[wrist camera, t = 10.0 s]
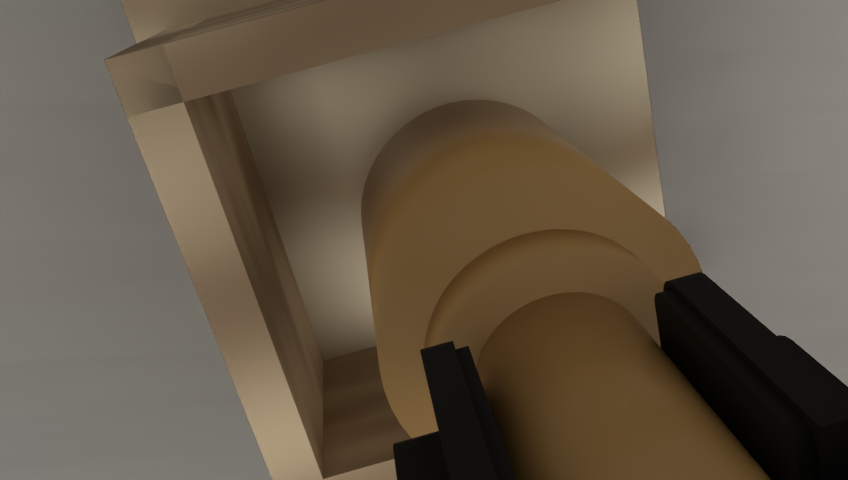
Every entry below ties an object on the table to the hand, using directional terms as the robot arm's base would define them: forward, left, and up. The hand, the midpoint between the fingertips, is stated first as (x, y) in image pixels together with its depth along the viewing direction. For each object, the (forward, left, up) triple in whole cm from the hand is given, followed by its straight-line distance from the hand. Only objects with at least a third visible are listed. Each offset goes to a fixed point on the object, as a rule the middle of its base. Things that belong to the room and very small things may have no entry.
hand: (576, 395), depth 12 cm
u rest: (0, -1, -13) cm, 13 cm away
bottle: (0, 0, -9) cm, 9 cm away
